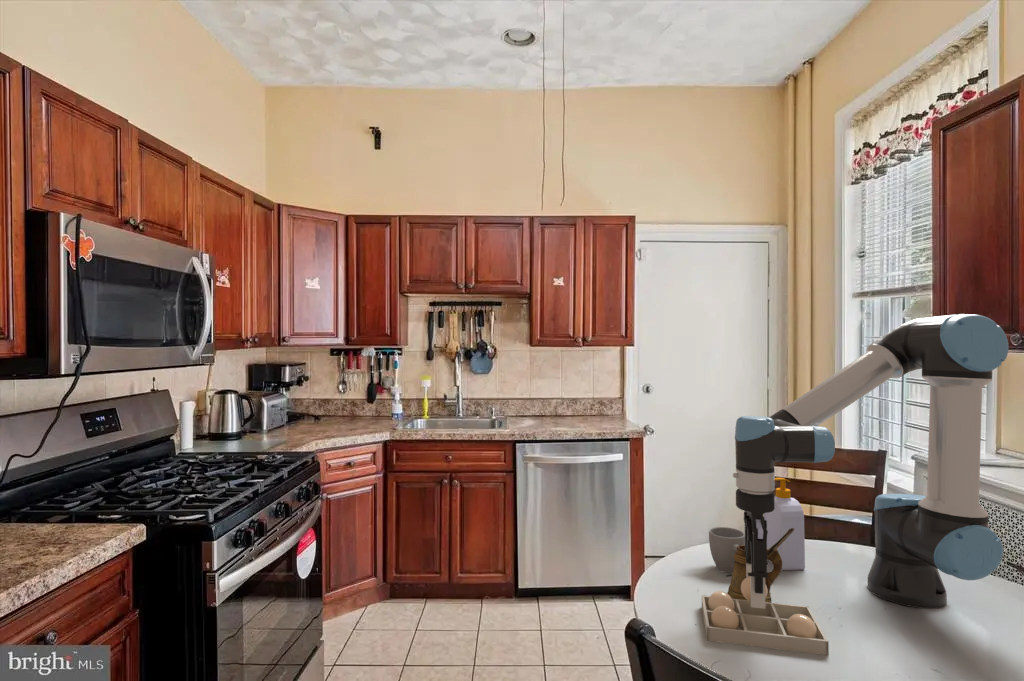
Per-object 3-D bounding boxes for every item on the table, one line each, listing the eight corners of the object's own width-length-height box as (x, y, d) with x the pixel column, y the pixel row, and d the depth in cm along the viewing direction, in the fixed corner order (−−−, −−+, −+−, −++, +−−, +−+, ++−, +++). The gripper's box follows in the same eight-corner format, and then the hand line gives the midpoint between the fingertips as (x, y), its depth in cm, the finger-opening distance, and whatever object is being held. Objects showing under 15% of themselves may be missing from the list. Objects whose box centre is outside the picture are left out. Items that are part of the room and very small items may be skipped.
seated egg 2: (737, 628, 113) (736, 602, 113) (740, 641, 108) (740, 614, 108) (710, 625, 114) (710, 599, 115) (712, 637, 109) (712, 611, 110)
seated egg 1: (732, 612, 120) (732, 588, 120) (736, 624, 115) (735, 598, 115) (707, 609, 121) (707, 585, 121) (709, 621, 116) (709, 596, 116)
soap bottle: (761, 558, 152) (760, 474, 153) (786, 557, 153) (784, 474, 153) (779, 571, 143) (778, 482, 144) (805, 570, 144) (803, 482, 144)
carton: (808, 621, 117) (808, 606, 117) (828, 658, 103) (828, 641, 103) (701, 609, 123) (701, 595, 123) (707, 643, 109) (706, 627, 109)
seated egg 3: (812, 637, 109) (812, 610, 110) (820, 650, 104) (819, 623, 105) (784, 633, 111) (783, 607, 111) (790, 647, 106) (789, 619, 106)
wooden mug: (787, 617, 118) (790, 531, 119) (722, 598, 126) (725, 518, 127) (795, 604, 125) (798, 524, 126) (733, 587, 133) (736, 512, 134)
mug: (703, 563, 149) (703, 527, 149) (734, 561, 150) (734, 526, 150) (725, 582, 137) (724, 543, 137) (759, 580, 138) (758, 541, 138)
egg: (765, 598, 118) (765, 574, 118) (769, 609, 113) (769, 583, 113) (739, 595, 120) (739, 571, 120) (742, 605, 115) (742, 580, 115)
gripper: (730, 479, 126) (731, 581, 126) (741, 500, 109) (742, 619, 109) (766, 481, 124) (767, 585, 124) (783, 502, 107) (784, 623, 107)
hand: (755, 600), depth 116 cm, fingers closed on egg, 5 cm apart
